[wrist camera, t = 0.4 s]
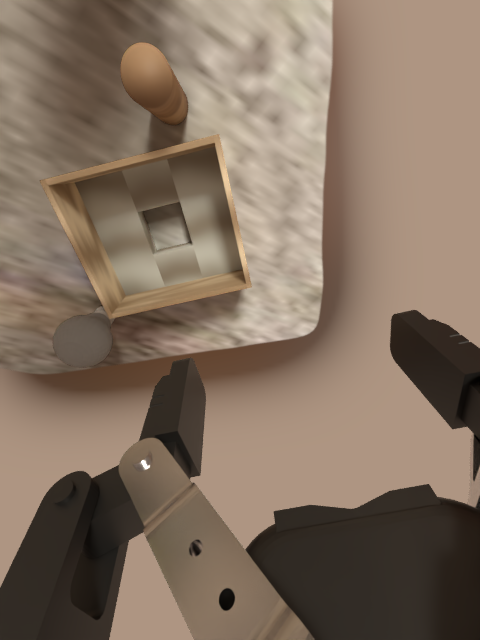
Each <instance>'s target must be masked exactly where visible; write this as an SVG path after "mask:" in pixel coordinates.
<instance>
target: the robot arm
mask: <svg viewBox="0 0 480 640" xmlns="http://www.w3.org/2000/svg"><path fill="white" fill-rule="evenodd" d="M390 350H391V354H392V357H393V359H394V360H395V362H396V363H397V364H398V366H399V367H400V368H401V369H402V370H403V371H404V373H405V374H406V375H407V376H408V377H409V378H410V380H411V381H412V382H413V383H414V384H415V385H416V387H417V388H418V389H419V390H420V391H421V393H422V394H423V395H424V396H425V397H426V398H427V400H428V401H429V402H430V403H431V404H432V406H433V407H434V408H435V409H436V410H437V411H438V413H439V414H440V415H441V416H442V417H443V419H444V420H445V421H446V422H447V423H448V424H449V426H450V427H451V428H452V429H456V428H462V427H467V426H468V428H469V429H470V430H471V431H472V435H471V452H470V490H469V498H468V503H467V504H465V503H462V502H458V501H455V500H451V499H446V498H441V497H437V496H436V494H435V493H434V491H433V490H432V488H431V487H430V485H429V484H427V485H421V486H415V487H409V488H404V489H398V490H392V491H389V492H387V493H385V494H383V495H381V496H379V497H377V498H375V499H373V500H371V501H369V502H368V503H366V504H364V505H362V506H360V507H358V508H355V509H346V508H336V507H326V506H316V505H307V506H302V507H296V508H290V509H284V510H279V511H274V517H275V524H274V525H272V526H270V527H268V528H267V529H266V530H264V531H263V532H261V533H260V534H259V535H258V536H257V537H256V538H255V539H254V540H253V541H252V542H251V543H250V544H249V546H248V547H247V548H246V550H245V549H244V548H243V546H242V545H241V544H240V542H239V541H238V540H237V538H236V537H235V536H234V534H233V533H232V532H231V530H230V529H229V528H228V526H227V525H226V524H225V522H224V521H223V520H222V518H221V517H220V516H219V515H218V513H217V512H216V511H215V509H214V508H213V507H212V505H211V504H210V503H209V501H208V500H207V499H206V497H205V496H204V495H203V493H202V492H201V491H200V490H199V488H198V487H197V486H196V484H195V483H192V482H191V481H190V477H195V476H200V473H201V459H202V445H203V431H204V417H205V404H206V403H205V402H206V396H205V389H204V386H203V383H202V381H201V378H200V375H199V373H198V370H197V367H196V365H195V362H194V360H193V359H192V358H187V359H184V360H179V361H174V362H173V363H172V367H171V371H170V375H167V376H163V377H162V378H161V380H160V381H159V382H158V384H157V385H156V386H155V389H154V392H153V396H152V400H151V402H150V408H149V409H148V413H147V416H146V419H145V423H144V426H143V430H142V433H141V436H140V439H139V441H138V442H137V443H135V444H134V445H133V446H131V447H130V448H129V449H128V450H127V451H126V452H125V454H124V455H123V457H122V459H121V461H120V464H119V465H118V466H116V467H114V468H112V469H110V470H108V471H106V472H104V473H102V474H100V475H98V476H96V477H94V478H91V477H90V476H89V474H87V473H86V472H84V471H77V472H73V473H70V474H68V475H66V476H65V477H63V478H62V479H60V480H59V481H58V482H56V483H55V484H54V485H53V486H52V487H51V488H50V490H49V491H48V492H47V493H46V495H45V496H44V498H43V500H42V502H41V504H40V506H39V508H38V510H37V512H36V514H35V517H34V519H33V521H32V523H31V525H30V527H29V529H28V531H27V533H26V535H25V538H24V539H23V541H22V544H21V546H20V548H19V550H18V552H17V554H16V556H15V558H14V560H13V562H12V564H11V566H10V569H9V571H8V573H7V575H6V577H5V579H4V581H3V583H2V586H1V587H0V640H109V637H110V632H111V627H112V622H113V617H114V612H115V607H116V602H117V597H118V592H119V587H120V582H121V577H122V572H123V566H124V562H125V557H126V552H127V546H128V542H129V540H130V539H132V538H134V537H135V536H137V535H139V534H141V533H143V532H144V534H145V536H146V538H147V541H148V543H149V545H150V547H151V549H152V551H153V553H154V556H155V558H156V560H157V562H158V564H159V566H160V568H161V571H162V573H163V575H164V577H165V579H166V581H167V583H168V585H169V588H170V590H171V591H172V594H173V596H174V598H175V600H176V602H177V604H178V606H179V609H180V611H181V613H182V615H183V617H184V619H185V621H186V623H187V626H188V628H189V630H190V632H191V634H192V636H193V638H194V640H480V348H478V347H477V346H476V345H474V344H473V343H472V342H469V340H468V339H466V338H465V337H464V336H462V335H459V333H458V332H457V331H455V330H454V329H453V328H451V327H450V326H449V325H447V324H444V323H441V322H439V321H436V320H433V319H432V320H428V319H427V318H426V317H425V316H423V315H422V314H421V313H419V312H418V311H417V310H411V311H407V312H402V313H398V314H394V315H393V316H392V319H391V338H390Z"/></svg>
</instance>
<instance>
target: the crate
mask: <svg viewBox="0 0 480 640" xmlns="http://www.w3.org/2000/svg"><path fill="white" fill-rule="evenodd" d="M40 183H41V185H42V187H43V189H44V191H45V193H46V195H47V197H48V199H49V200H50V202H51V204H52V206H53V208H54V210H55V212H56V214H57V216H58V218H59V220H60V222H61V224H62V226H63V228H64V230H65V232H66V234H67V236H68V238H69V240H70V242H71V244H72V246H73V248H74V250H75V252H76V254H77V256H78V258H79V260H80V262H81V264H82V266H83V268H84V270H85V272H86V274H87V276H88V278H89V279H90V281H91V283H92V285H93V287H94V289H95V291H96V293H97V295H98V297H99V299H100V301H101V303H102V305H103V307H104V309H105V311H106V313H107V315H108V317H109V319H112V318H116V317H121V316H125V315H130V314H134V313H139V312H143V311H148V310H152V309H157V308H161V307H166V306H170V305H174V304H179V303H183V302H188V301H192V300H197V299H201V298H206V297H210V296H215V295H219V294H224V293H228V292H233V291H237V290H242V289H246V288H251V287H252V286H251V281H250V277H249V272H248V267H247V263H246V258H245V253H244V249H243V244H242V239H241V235H240V230H239V225H238V221H237V216H236V211H235V207H234V202H233V197H232V193H231V188H230V183H229V179H228V174H227V170H226V165H225V160H224V156H223V151H222V146H221V142H220V137H219V134H218V135H214V136H210V137H206V138H202V139H198V140H194V141H191V142H187V143H183V144H179V145H175V146H171V147H167V148H164V149H160V150H156V151H152V152H148V153H144V154H140V155H137V156H133V157H129V158H125V159H121V160H117V161H113V162H110V163H106V164H102V165H98V166H94V167H90V168H86V169H83V170H79V171H75V172H71V173H67V174H63V175H59V176H56V177H52V178H48V179H44V180H40ZM177 202H180V204H181V207H182V211H183V214H184V217H185V221H186V224H187V227H188V231H189V234H190V237H191V241H192V242H190V243H186V244H182V245H177V246H173V247H169V248H165V249H160V250H157V249H156V247H155V244H154V241H153V239H152V236H151V233H150V230H149V228H148V225H147V222H146V219H145V217H144V214H143V211H144V210H148V209H152V208H157V207H161V206H165V205H169V204H173V203H177Z"/></svg>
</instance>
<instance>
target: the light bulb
mask: <svg viewBox="0 0 480 640" xmlns="http://www.w3.org/2000/svg"><path fill="white" fill-rule="evenodd" d="M114 320H115V318H112V319H109V317H108V315H107V313H106V311H105V309H104V307H103V306H102V307H98V308H97V309H96V310H95V311H94V312H93V313H91V314H88V315H79V316H74V317H72V318H69V319H67V320H66V321H64V322H63V323H61V324H60V325H59V326H58V328H57V329H56V331H55V333H54V336H53V348H54V351H55V353H56V355H57V356H58V357H59V359H60V360H61V361H63V362H64V363H66V364H67V365H70V366H73V367H78V368H85V367H91V366H94V365H96V364H98V363H100V362H101V361H103V360H104V359H105V358H106V357H107V356H108V354H109V352H110V351H111V348H112V343H113V337H112V333H111V330H110V329H111V324H112V323H113V321H114Z"/></svg>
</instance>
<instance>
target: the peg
mask: <svg viewBox="0 0 480 640" xmlns="http://www.w3.org/2000/svg"><path fill="white" fill-rule="evenodd" d="M120 72H121V79H122V82H123V85H124V87H125V89H126V91H127V93H128V94H129V96H130V97H131V98H132V99H133V100H134V101H136V102H137V103H138V104H140V105H141V106H142V107H144V108H145V109H146V110H148V111H149V112H151V113H152V114H153V115H155V116H156V117H157V118H159V119H160V120H161V121H163V122H164V123H166V124H169V125H177V124H179V123H181V122H182V121H183V120H184V119H185V117H186V115H187V112H188V101H187V97H186V95H185V93H184V91H183V89H182V87H181V86H180V84H179V82H178V80H177V78H176V76H175V75H174V73H173V71H172V69H171V67H170V65H169V64H168V62H167V60H166V58H165V57H164V55H163V54H162V53H161V51H160V50H158V49H157V48H156V47H155V46H153V45H151V44H148V43H136V44H133V45H132V46H130V47H129V48H128V49H127V50H126V51H125V53H124V55H123V57H122V61H121V67H120Z"/></svg>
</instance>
